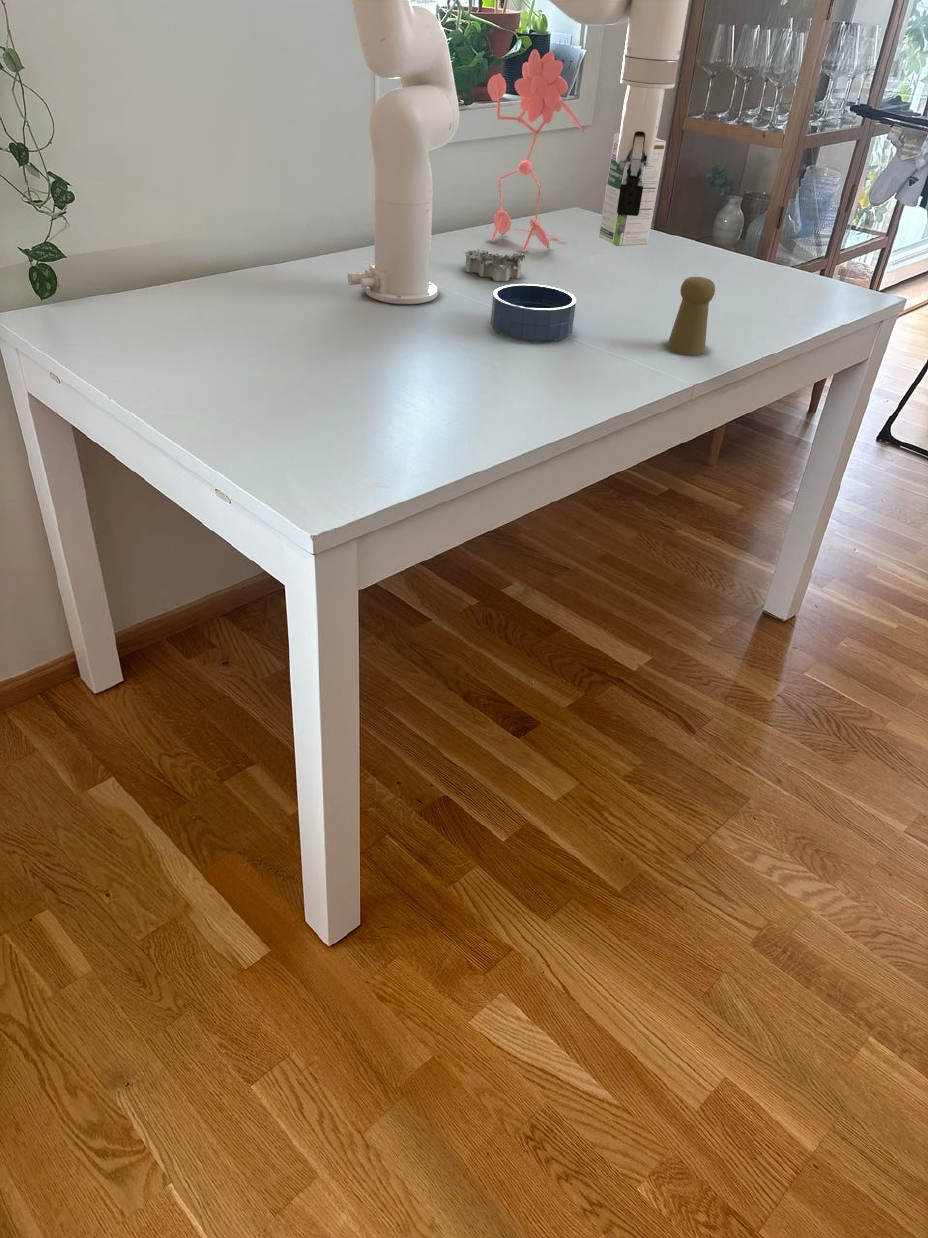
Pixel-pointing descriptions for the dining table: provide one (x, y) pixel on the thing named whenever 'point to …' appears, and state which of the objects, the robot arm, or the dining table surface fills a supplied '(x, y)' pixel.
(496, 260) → the egg carton
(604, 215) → the syrup box
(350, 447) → the dining table surface
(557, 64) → the figurine
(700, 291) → the olive brown pawn
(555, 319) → the bowl
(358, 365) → the dining table surface
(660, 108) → the robot arm
